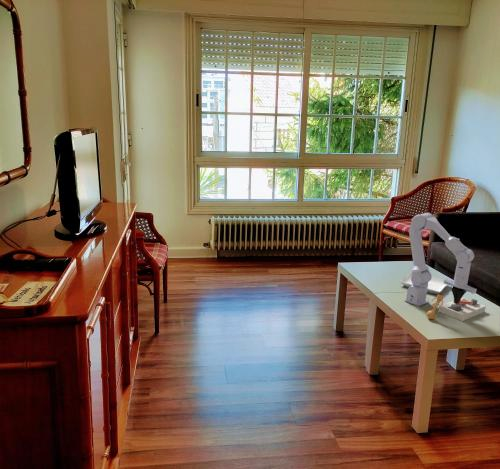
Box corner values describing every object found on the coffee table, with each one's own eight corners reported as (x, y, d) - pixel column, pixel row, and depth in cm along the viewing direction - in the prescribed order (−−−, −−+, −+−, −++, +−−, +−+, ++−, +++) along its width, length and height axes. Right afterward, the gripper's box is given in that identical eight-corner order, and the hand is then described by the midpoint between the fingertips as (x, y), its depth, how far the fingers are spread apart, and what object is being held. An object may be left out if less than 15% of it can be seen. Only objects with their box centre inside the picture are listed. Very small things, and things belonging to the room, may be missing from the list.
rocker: (470, 304, 209) (469, 301, 209) (453, 302, 216) (453, 300, 216) (473, 303, 211) (473, 300, 211) (457, 301, 217) (456, 299, 217)
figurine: (422, 314, 209) (426, 290, 206) (435, 315, 209) (439, 291, 206) (430, 322, 201) (434, 297, 198) (443, 323, 201) (447, 298, 198)
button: (457, 315, 208) (458, 308, 207) (448, 311, 211) (449, 305, 210) (462, 313, 210) (463, 306, 210) (453, 309, 214) (454, 303, 213)
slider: (474, 305, 214) (474, 301, 214) (470, 303, 216) (470, 300, 215) (476, 304, 216) (477, 300, 215) (472, 302, 217) (473, 299, 217)
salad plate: (439, 297, 232) (440, 291, 231) (398, 286, 244) (399, 280, 243) (449, 286, 248) (450, 280, 248) (411, 277, 261) (412, 271, 260)
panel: (462, 321, 204) (464, 313, 203) (438, 311, 213) (439, 303, 212) (484, 311, 216) (486, 304, 215) (460, 303, 225) (462, 295, 224)
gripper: (481, 278, 203) (476, 306, 206) (451, 269, 214) (446, 296, 218) (473, 281, 199) (468, 310, 202) (443, 271, 210) (438, 298, 214)
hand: (456, 303), depth 210 cm, fingers closed
